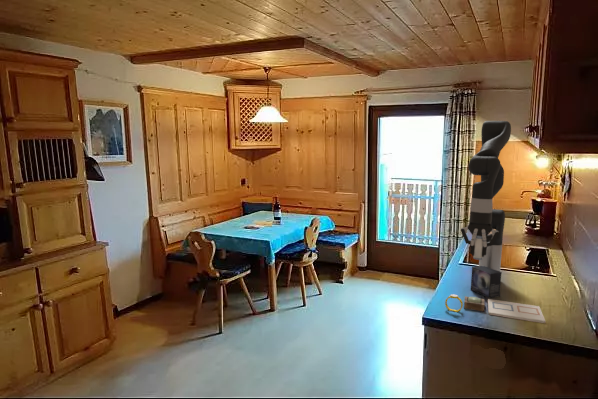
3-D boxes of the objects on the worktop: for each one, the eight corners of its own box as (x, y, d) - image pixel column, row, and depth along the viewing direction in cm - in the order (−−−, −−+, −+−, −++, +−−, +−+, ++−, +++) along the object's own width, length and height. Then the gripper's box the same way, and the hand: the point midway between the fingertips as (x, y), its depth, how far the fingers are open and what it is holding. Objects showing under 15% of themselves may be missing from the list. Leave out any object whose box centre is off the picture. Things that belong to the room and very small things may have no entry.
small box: (469, 290, 181) (471, 266, 180) (481, 288, 183) (482, 265, 182) (488, 298, 171) (490, 273, 170) (500, 296, 173) (502, 271, 172)
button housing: (464, 302, 165) (464, 296, 165) (483, 305, 162) (484, 299, 162) (463, 308, 159) (464, 301, 158) (484, 311, 156) (484, 304, 156)
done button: (467, 303, 163) (468, 296, 163) (480, 305, 162) (480, 297, 161) (467, 307, 159) (468, 299, 159) (480, 309, 158) (480, 301, 157)
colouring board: (487, 300, 168) (487, 298, 168) (539, 308, 161) (539, 306, 161) (488, 314, 153) (488, 312, 153) (545, 323, 146) (545, 320, 146)
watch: (444, 311, 156) (444, 295, 156) (446, 308, 158) (446, 293, 158) (461, 313, 153) (461, 297, 153) (463, 311, 155) (462, 295, 155)
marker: (473, 257, 160) (474, 234, 159) (482, 258, 159) (483, 234, 158) (473, 259, 157) (474, 235, 156) (482, 260, 156) (483, 236, 155)
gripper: (501, 210, 157) (497, 255, 159) (461, 207, 162) (458, 251, 164) (502, 213, 150) (498, 260, 152) (460, 210, 155) (457, 255, 158)
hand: (477, 255), depth 158 cm, fingers closed on marker, 3 cm apart
